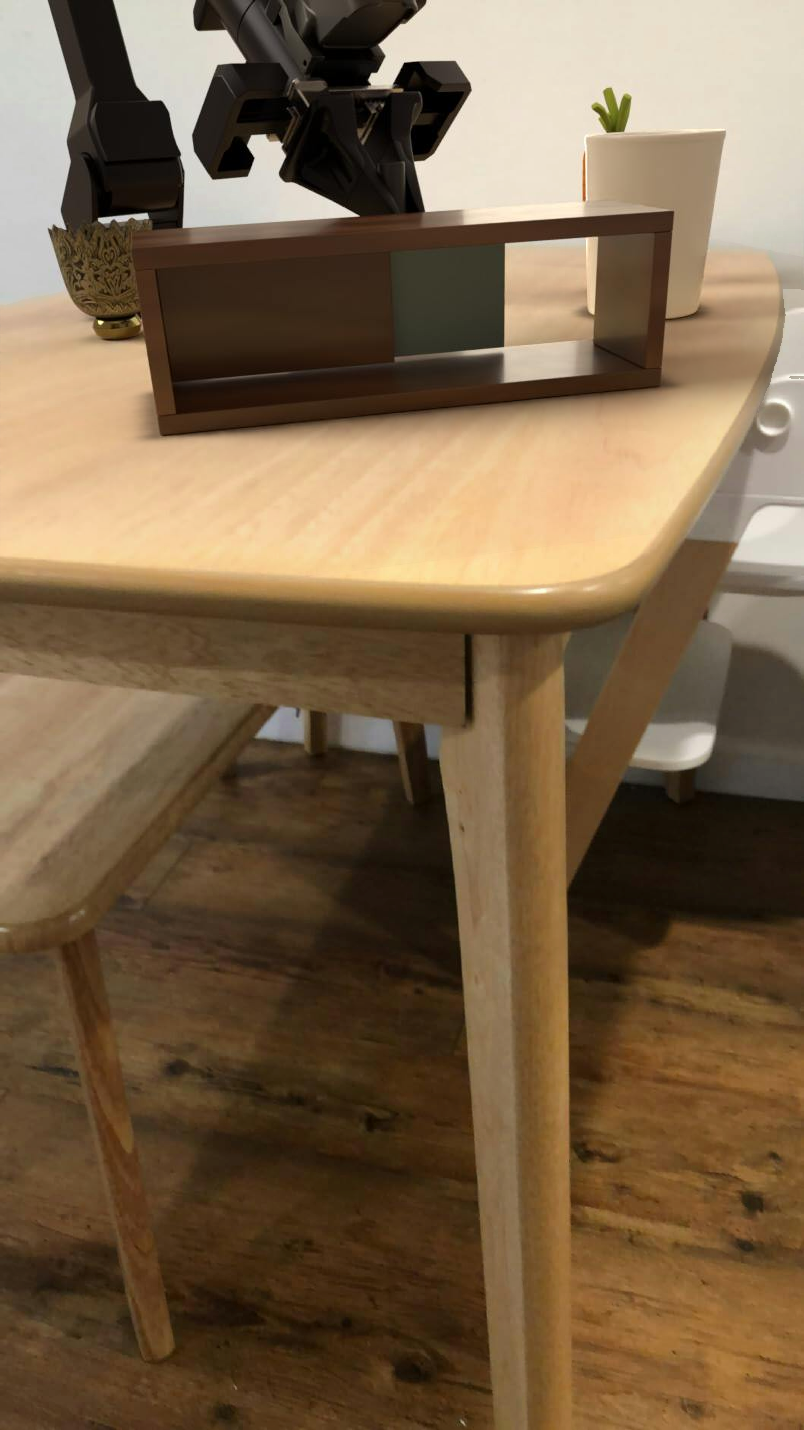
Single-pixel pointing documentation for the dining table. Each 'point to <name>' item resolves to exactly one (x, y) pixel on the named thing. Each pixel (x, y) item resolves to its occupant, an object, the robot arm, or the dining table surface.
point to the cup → (101, 274)
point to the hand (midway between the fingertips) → (409, 225)
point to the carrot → (609, 120)
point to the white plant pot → (660, 197)
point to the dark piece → (444, 290)
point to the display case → (377, 315)
